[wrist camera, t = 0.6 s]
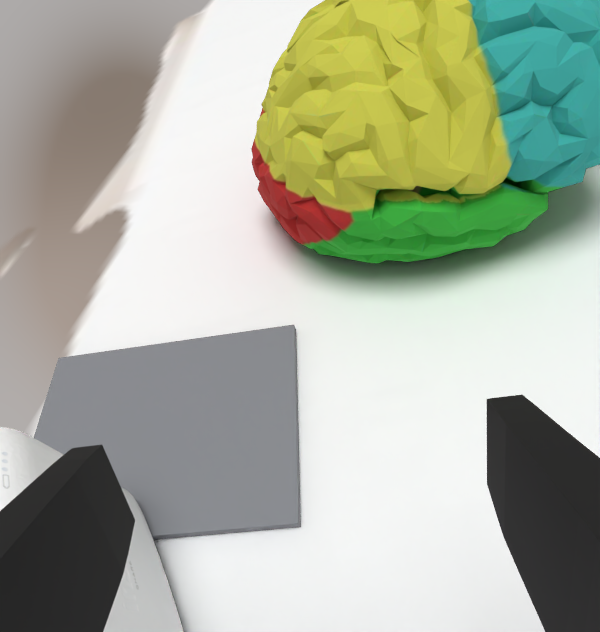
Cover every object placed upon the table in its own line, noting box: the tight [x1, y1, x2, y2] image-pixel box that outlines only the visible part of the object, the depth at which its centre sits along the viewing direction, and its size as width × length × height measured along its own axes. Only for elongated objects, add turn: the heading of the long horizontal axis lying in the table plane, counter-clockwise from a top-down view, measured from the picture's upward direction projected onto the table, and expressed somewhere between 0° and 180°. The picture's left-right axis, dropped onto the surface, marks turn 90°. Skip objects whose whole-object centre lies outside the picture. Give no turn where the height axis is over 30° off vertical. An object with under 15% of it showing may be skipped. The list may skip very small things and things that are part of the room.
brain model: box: [252, 0, 600, 263], centre depth 33 cm, size 24×19×15 cm
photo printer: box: [0, 427, 184, 632], centre depth 20 cm, size 10×4×12 cm, turn 27°
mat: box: [34, 325, 301, 539], centre depth 30 cm, size 12×16×1 cm
